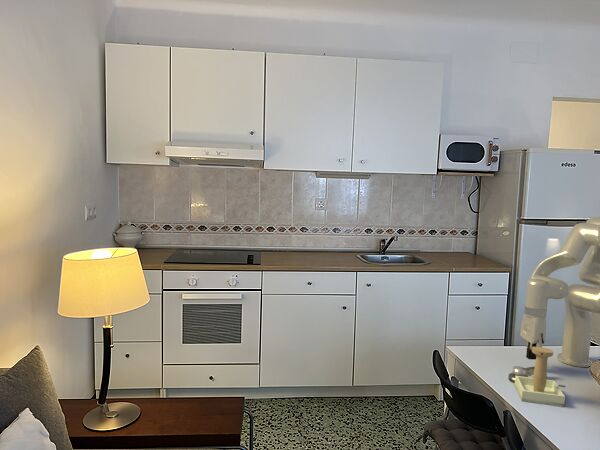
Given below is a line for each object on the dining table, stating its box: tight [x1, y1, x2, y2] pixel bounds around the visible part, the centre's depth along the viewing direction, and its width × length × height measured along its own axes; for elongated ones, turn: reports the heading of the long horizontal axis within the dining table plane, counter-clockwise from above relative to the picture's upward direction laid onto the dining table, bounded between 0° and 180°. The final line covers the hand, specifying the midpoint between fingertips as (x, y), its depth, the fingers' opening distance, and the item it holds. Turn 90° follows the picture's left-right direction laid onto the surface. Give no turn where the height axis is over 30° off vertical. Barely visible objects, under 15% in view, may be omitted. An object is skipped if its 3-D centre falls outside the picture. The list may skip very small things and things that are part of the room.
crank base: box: [507, 372, 566, 388], centre depth 171 cm, size 7×19×2 cm, turn 76°
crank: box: [512, 365, 535, 377], centre depth 174 cm, size 14×4×5 cm, turn 111°
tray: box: [514, 376, 566, 408], centre depth 161 cm, size 13×13×4 cm
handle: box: [532, 346, 554, 393], centre depth 160 cm, size 5×6×15 cm
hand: (531, 358), depth 182 cm, fingers closed
